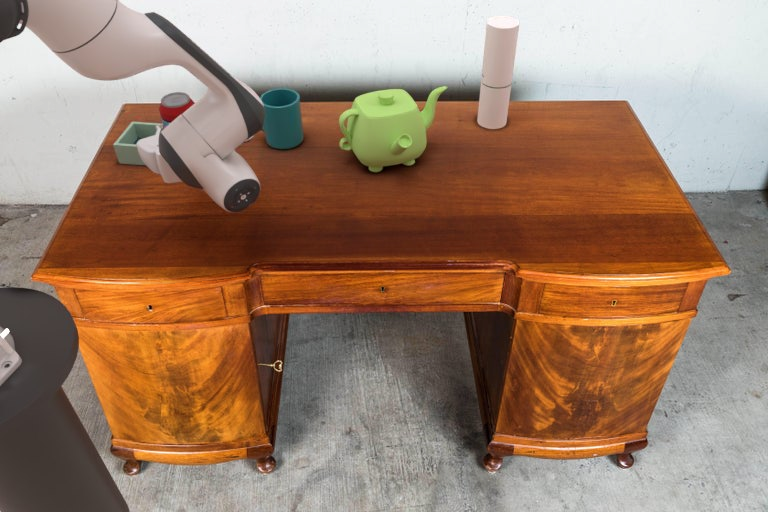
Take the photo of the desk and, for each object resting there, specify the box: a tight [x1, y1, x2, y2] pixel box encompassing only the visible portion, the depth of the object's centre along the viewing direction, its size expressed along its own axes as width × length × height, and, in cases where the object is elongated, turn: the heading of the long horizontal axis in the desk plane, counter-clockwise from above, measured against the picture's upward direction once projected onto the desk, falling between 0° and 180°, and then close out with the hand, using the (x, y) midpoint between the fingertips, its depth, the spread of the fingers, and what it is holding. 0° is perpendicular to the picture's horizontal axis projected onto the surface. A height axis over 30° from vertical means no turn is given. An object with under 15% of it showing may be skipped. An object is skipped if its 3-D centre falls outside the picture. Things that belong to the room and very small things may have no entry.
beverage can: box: [158, 91, 196, 127], centre depth 128 cm, size 7×7×12 cm
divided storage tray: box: [112, 121, 162, 166], centre depth 150 cm, size 10×19×5 cm, turn 82°
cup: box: [259, 87, 305, 150], centre depth 152 cm, size 9×12×11 cm
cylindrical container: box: [476, 14, 520, 130], centre depth 153 cm, size 7×7×25 cm
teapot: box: [338, 85, 448, 173], centre depth 144 cm, size 25×22×16 cm
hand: (179, 122), depth 128 cm, fingers closed on beverage can, 7 cm apart
